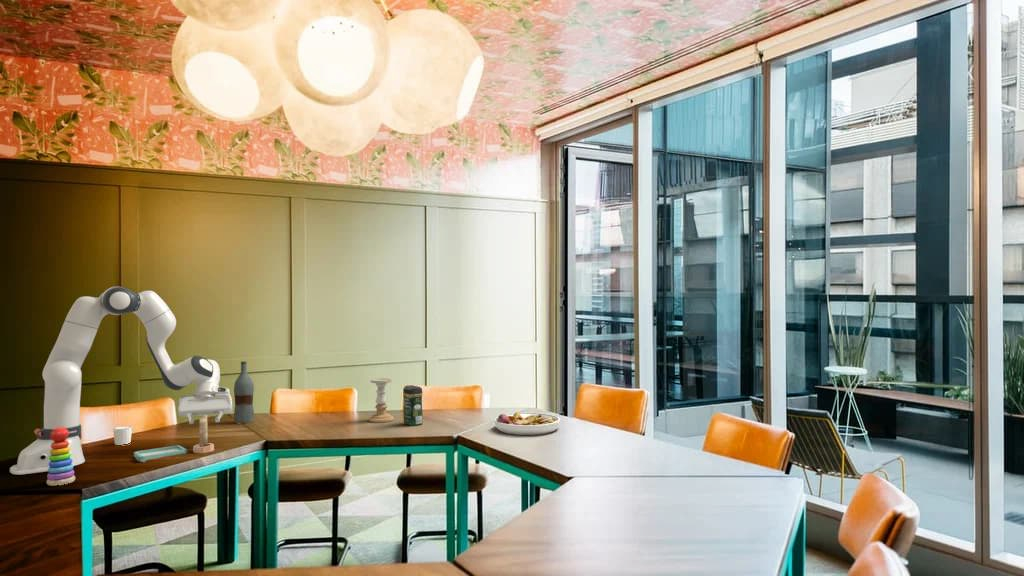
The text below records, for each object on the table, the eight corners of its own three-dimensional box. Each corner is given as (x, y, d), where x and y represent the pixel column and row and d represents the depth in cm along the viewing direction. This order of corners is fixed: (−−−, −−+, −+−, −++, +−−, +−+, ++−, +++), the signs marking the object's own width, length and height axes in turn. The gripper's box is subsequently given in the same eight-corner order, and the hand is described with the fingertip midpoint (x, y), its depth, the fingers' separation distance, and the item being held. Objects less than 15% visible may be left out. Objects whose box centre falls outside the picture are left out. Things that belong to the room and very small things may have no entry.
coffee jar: (400, 423, 308) (400, 385, 309) (415, 421, 313) (415, 383, 313) (410, 426, 301) (410, 387, 301) (425, 424, 306) (424, 385, 306)
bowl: (542, 421, 313) (542, 405, 313) (571, 433, 285) (571, 415, 285) (485, 426, 301) (485, 409, 301) (509, 439, 274) (509, 421, 274)
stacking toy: (76, 478, 220) (76, 423, 220) (73, 484, 213) (73, 428, 213) (48, 481, 216) (48, 426, 216) (44, 488, 209) (44, 430, 209)
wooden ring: (196, 455, 249) (196, 448, 250) (191, 452, 255) (191, 445, 255) (215, 452, 254) (215, 445, 254) (210, 449, 259) (210, 442, 259)
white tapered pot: (123, 446, 267) (123, 429, 267) (109, 445, 269) (109, 429, 269) (136, 442, 274) (135, 426, 274) (122, 441, 275) (122, 425, 275)
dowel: (200, 452, 252) (200, 416, 253) (198, 450, 255) (198, 415, 255) (208, 450, 254) (208, 415, 254) (206, 449, 256) (206, 414, 257)
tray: (140, 462, 240) (140, 456, 240) (133, 457, 248) (133, 451, 248) (186, 455, 251) (186, 449, 251) (178, 450, 259) (178, 444, 259)
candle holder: (363, 422, 313) (363, 380, 313) (376, 417, 325) (376, 377, 325) (386, 423, 309) (385, 381, 309) (398, 418, 321) (398, 378, 321)
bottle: (246, 424, 310) (246, 362, 310) (229, 424, 311) (229, 362, 312) (257, 420, 319) (257, 360, 319) (241, 420, 320) (240, 360, 321)
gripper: (178, 391, 261) (174, 419, 252) (232, 388, 268) (231, 415, 259) (180, 400, 265) (176, 428, 256) (233, 397, 272) (232, 424, 263)
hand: (204, 422), depth 257 cm, fingers open, 8 cm apart
